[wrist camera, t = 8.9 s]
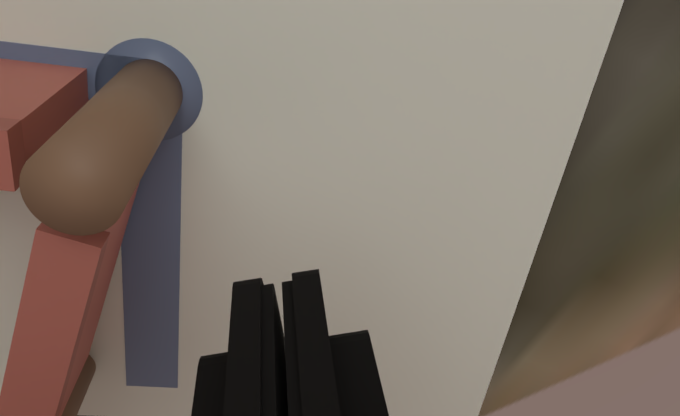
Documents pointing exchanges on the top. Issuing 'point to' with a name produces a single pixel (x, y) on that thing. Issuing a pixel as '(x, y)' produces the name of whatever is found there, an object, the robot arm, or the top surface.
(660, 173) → the top surface
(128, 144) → the fence fixed
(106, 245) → the fence panel
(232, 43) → the card
